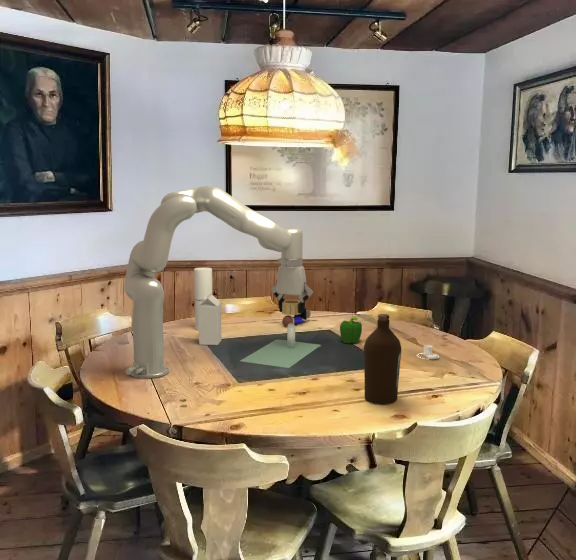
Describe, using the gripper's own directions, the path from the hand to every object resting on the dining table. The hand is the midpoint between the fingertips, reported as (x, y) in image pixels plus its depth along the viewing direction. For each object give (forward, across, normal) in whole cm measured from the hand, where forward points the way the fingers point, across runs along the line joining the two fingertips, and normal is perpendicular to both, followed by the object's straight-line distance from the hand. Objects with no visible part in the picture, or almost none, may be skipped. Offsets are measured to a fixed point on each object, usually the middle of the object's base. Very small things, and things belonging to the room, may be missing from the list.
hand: (291, 311), depth 230 cm
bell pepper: (+15, +16, +20) cm, 30 cm away
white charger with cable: (+16, +46, +11) cm, 50 cm away
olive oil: (+15, +43, -34) cm, 57 cm away
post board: (+15, 0, -8) cm, 17 cm away
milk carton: (+15, -32, -3) cm, 36 cm away
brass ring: (+1, 0, 0) cm, 1 cm away
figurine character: (+15, -14, +37) cm, 42 cm away
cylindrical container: (+15, -45, +14) cm, 49 cm away
